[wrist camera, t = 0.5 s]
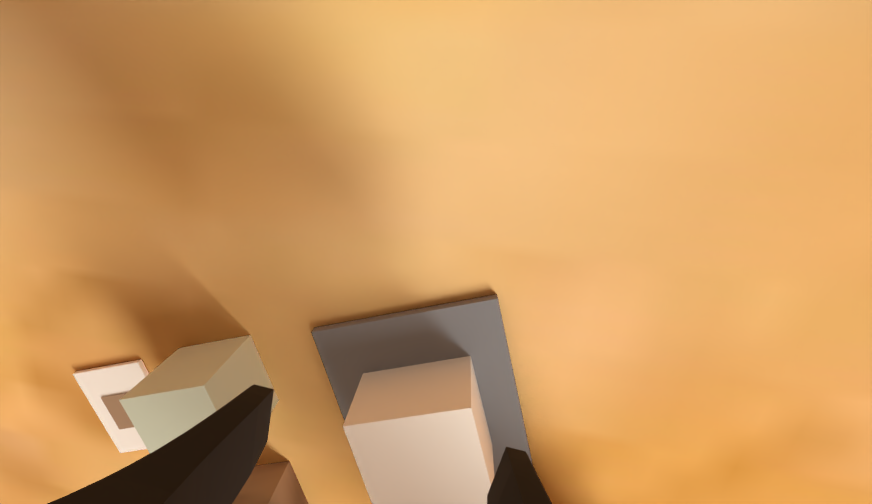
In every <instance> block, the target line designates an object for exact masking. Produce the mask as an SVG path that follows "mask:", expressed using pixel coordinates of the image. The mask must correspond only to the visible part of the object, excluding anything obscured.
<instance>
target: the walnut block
mask: <svg viewBox="0 0 872 504" xmlns="http://www.w3.org/2000/svg"><path fill="white" fill-rule="evenodd" d="M232 504H308V502H307V500H306V497H305V495H304V493H303V491H302V488H301V486H300V484H299V482H298V479H297V477H296V475H295V473H294V471H293V468H292V466H291V464H290V462H289V461H286V462H279V463H271V464H264V465H257V466H255V467H254V469H253V471H252V473H251V475H250V476H249V478H248V480H247V481H246V483H245V484H244V486H243V488H242V489H241V491H240V492H239V494H238V496H237V497H236V499H235V500H234V502H233V503H232Z"/></svg>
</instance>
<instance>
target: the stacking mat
mask: <svg viewBox="0 0 872 504" xmlns="http://www.w3.org/2000/svg"><path fill="white" fill-rule="evenodd" d="M311 333H312V336H313V338H314V341H315V344H316V346H317V349H318V351H319V354H320V357H321V359H322V362H323V365H324V367H325V370H326V373H327V375H328V378H329V381H330V383H331V386H332V389H333V391H334V394H335V397H336V399H337V402H338V405H339V407H340V410H341V412H342V415H343V418H344V420H345V419H346V417H347V414H348V411H349V409H350V406H351V403H352V401H353V398H354V396H355V393H356V390H357V388H358V385H359V383H360V380H361V377H362V375H363V373H369V372H375V371H381V370H387V369H393V368H399V367H405V366H412V365H418V364H424V363H430V362H436V361H442V360H448V359H454V358H461V357H467V356H471V360H472V364H473V368H474V372H475V376H476V380H477V384H478V388H479V393H480V397H481V401H482V405H483V409H484V413H485V417H486V421H487V425H488V429H489V433H490V438H491V442H492V449H493V463H494V476H495V474H496V471H497V469H498V466H499V464H500V461H501V458H502V456H503V453H504V451H505V448H506V447H510V448H514V449H518V450H522V451H526V453H527V455H528V457H529V459H530V461H531V463H532V459H531V455H530V450H529V445H528V440H527V436H526V431H525V426H524V421H523V416H522V412H521V407H520V402H519V397H518V393H517V388H516V383H515V378H514V374H513V369H512V364H511V359H510V354H509V350H508V345H507V340H506V335H505V331H504V326H503V321H502V316H501V312H500V307H499V302H498V297H497V294H496V295H490V296H485V297H479V298H474V299H469V300H463V301H458V302H452V303H447V304H441V305H436V306H430V307H425V308H419V309H414V310H408V311H403V312H397V313H392V314H387V315H381V316H376V317H370V318H365V319H359V320H354V321H348V322H343V323H337V324H332V325H326V326H321V327H316V328H314V329H313V331H312V332H311ZM532 465H533V464H532Z"/></svg>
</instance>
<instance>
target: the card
mask: <svg viewBox="0 0 872 504" xmlns="http://www.w3.org/2000/svg"><path fill="white" fill-rule="evenodd" d="M148 374H149V372H148V371H147V369H146V367H145V365H144V363H143V361H142V359H141V360H135V361H130V362H124V363H119V364H113V365H108V366H102V367H97V368H91V369H86V370H81V371H77V372H75V373H74V374H73V376H74V377H75V379H76V381H77V382H78V384H79V386H80V387H81V389H82V391H83V392H84V394H85V395H86V397H87V399H88V400H89V402H90V404H91V405H92V407H93V409H94V410H95V412H96V414H97V415H98V417H99V419H100V420H101V422H102V424H103V425H104V427H105V429H106V430H107V432H108V433H109V435H110V437H111V438H112V440H113V442H114V443H115V445H116V447H117V448H118V450H119V452H120V453H123V452H130V451H136V450H143V449H147V448H146V446H145V444H144V442H143V441H142V439H141V437H140V436H139V434H138V432H137V430H136V429H135V427H134V425H133V423H132V422H131V420H130V418H129V417H128V415H127V413H126V411H125V410H124V408H123V406H122V405H121V403H120V401H119V399H121V398H122V397H123V396H124V395H125V394H126V393H128V392H129V391H130V390H131V389H132V388H133V387H134V386H136V385H137V384H138V383H139V382H140V381H141V380H143V379H144V378H145V377H146V376H147V375H148Z"/></svg>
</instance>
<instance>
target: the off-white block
mask: <svg viewBox="0 0 872 504" xmlns="http://www.w3.org/2000/svg"><path fill="white" fill-rule="evenodd" d="M343 429H344V431H345V434H346V436H347V439H348V442H349V444H350V447H351V450H352V452H353V455H354V457H355V460H356V463H357V465H358V468H359V471H360V473H361V476H362V479H363V481H364V484H365V486H366V489H367V492H368V494H369V497H370V500H371V502H372V504H487V495H488V492H489V489H490V487H491V484H492V482H493V479H494V463H493V449H492V442H491V438H490V433H489V429H488V425H487V421H486V417H485V413H484V409H483V405H482V401H481V397H480V393H479V388H478V384H477V380H476V376H475V372H474V368H473V364H472V360H471V356H467V357H461V358H454V359H448V360H442V361H436V362H430V363H424V364H418V365H412V366H405V367H399V368H393V369H387V370H381V371H375V372H369V373H363V375H362V377H361V380H360V383H359V385H358V388H357V390H356V393H355V396H354V398H353V401H352V403H351V406H350V409H349V411H348V414H347V417H346V419H345V422H344V424H343Z"/></svg>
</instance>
